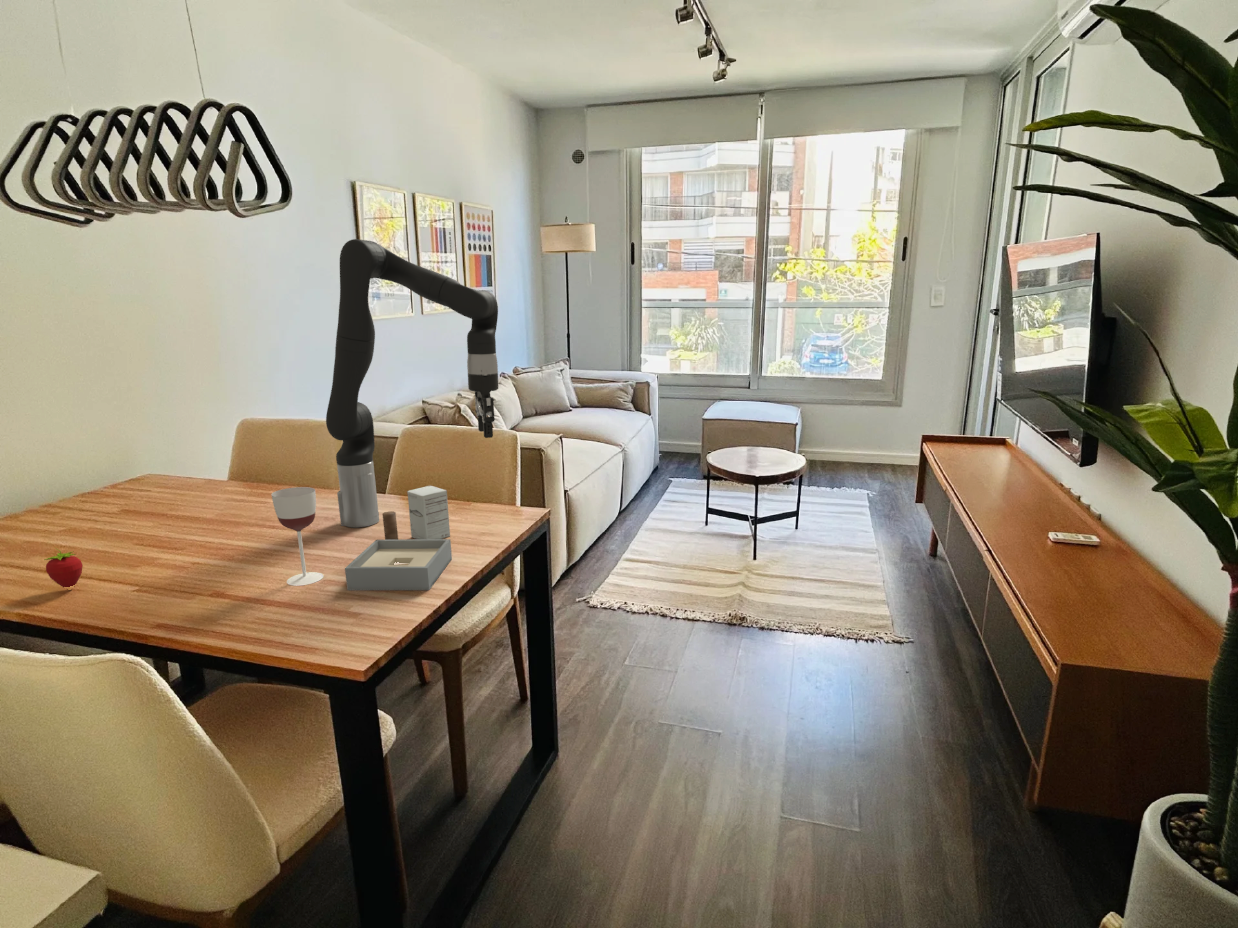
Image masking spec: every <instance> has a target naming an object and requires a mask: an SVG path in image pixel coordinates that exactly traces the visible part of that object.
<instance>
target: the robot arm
mask: <svg viewBox="0 0 1238 928" xmlns="http://www.w3.org/2000/svg"><path fill="white" fill-rule="evenodd" d="M371 279H379V280H385V281H389V282H392V283H395V284H398V285H401V286H403V287H405V288H406V289H408V290H410V291H412V293H414V294H416V295H418V296H420V297H422V298H423V299H427V300H428V301H431V302H433V303H436V304H438V305H441V306H443V307H447V308H448V309H451V310H452V311H454V312H455V313H458V314H459V315H461V316H464V317H466V318H468V319H471V326H470V327H471V328H470V330H469V331H468V332H467V336H466V343H467V344H466V345H467V346H466V349H467V359H466V363H467V366H466V367H467V384H468V387H467V388H468V390H469V391H470V392H474V402H475V413H476V417H477V428H478V431H479V432H483V437H484V438H485V439H490V438H493V437H494V431H493V429H494V427H493V423H494V422H495V420H496V418H495V407H494V405H495V404H494V401H495V399H494V397H492V396H491V392H495V391H497V390H499V371H498V369H499V368H498V367H499V365H498V358H497V357H498V356H497V345H496V331H497V326H498V325H497V323H498V317H499V306H498V305H499V304H498V301H497V299H496V297H495V295H494V294H493V293H492V292H490V291H488V290H483V289H482V290H479V289H475V288H471V287H468V286H466V285H464V284H461V283H460V282H459V281H457V280H456V279H454V278H452V277H449V276H447V275H444V274H441V273H440V272H437V271H434V270H431V269H428V268H425V267H423V266H420V265H417V264H415V263H413V262H411V261H408V260H406V259H405V258H402V257H400V256H398V255H397V254H395V253H394V252H392V251H390V250H389V249H387V248H385V247H384V246H383V245H381V244H380V243H377V242H375V241H373V240H366V239H357V238H356V239H355V238H354V239H349V240H348V241H346V242H345V243H344V245H343V246H342V248H341V249H340V255H339V305H338V318H337V327H336V328H337V329H336V338H335V347H334V349H335V352H334V354H335V355H334V362H333V363H334V366H333V375H332V384H331V390H330V396H329V400H328V404H327V409H326V416H325V425H326V429H327V431H328V433H329V435H330V436H331V437H332V438H334V439H335V440H337V441H342V444H341V445H340V448H339V450H338V451H337V453H336V455H335V458H336V467H337V475H338V484H339V485H338V486H339V491H337V501H338V502H337V503H338V510H339V511H338V512H339V517H340V518H339V519H340V521H339V522H340V526H341V527H342V526H344V527H348V528H364V527H369V526H373V525H376V524H377V523H379V522H380V513H379V504H378V495H377V487H376V485H377V483H376V477H375V467H374V465H375V464H374V451H375V444H376V442H375V430H374V429H375V428H374V421H373V415H372V411H370V409H369V408H368V406H367V405H366V404H364V403H362V402H360V401H359V402H358V400H359V395H360V394H359V392H360V388H361V387H362V384H363V381H364V379H365V378H366V375H367V373H368V372H369V369H370V366H371V365H372V361H373V358H374V357H373V356H374V352H375V351H374V350H375V342H376V328H375V325H374V320H373V317H372V313H371V310H370V305H369V292H370V283H371Z"/></svg>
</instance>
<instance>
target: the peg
mask: <svg viewBox="0 0 1238 928" xmlns="http://www.w3.org/2000/svg"><path fill="white" fill-rule="evenodd" d="M396 513H397V512H396V511H391V510H389V511H385V512H383V513H382V523H383V533H384V540H399V535H398V534H399V533H398V523H397V514H396Z"/></svg>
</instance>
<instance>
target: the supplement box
mask: <svg viewBox="0 0 1238 928" xmlns="http://www.w3.org/2000/svg"><path fill="white" fill-rule="evenodd" d="M406 492H407V502H408V503H407V504H408V512H409V524H410V525H409V526H410V535H411V538H412V539H413V538H414V539H447V538H449V537H451V529H450V517H449V516H450V515H449V504H448V490H447V489H443V488H439V487H437V486H433V485H426V486H423V487H419V488H418V487H417V488H415V489H409V490H407V491H406Z"/></svg>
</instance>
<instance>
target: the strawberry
mask: <svg viewBox="0 0 1238 928" xmlns="http://www.w3.org/2000/svg"><path fill="white" fill-rule="evenodd" d="M54 549H56V550H57V551H59V552H57V554H56V556H55V555H53V556H50V557H47V558H44V561H47V563H46V564H45V572H46V573H47V575H48V576H49V578H50V579H51V580H52V581H54V582H55V583H56V584H57V585H58V586H60V587H62V588H64V587H70V586H73V585H75V584H76V585H77V583H78V582H79V579H80V577H81V575H82V573H83V565H84V564H83V562H82V560H81V559H80V558H78V557H77V556H75V555H76V553H74V551H69V552H66V553H62V551H61V550H60V549H58V548H56V547H54ZM76 585H75V586H76Z"/></svg>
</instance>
